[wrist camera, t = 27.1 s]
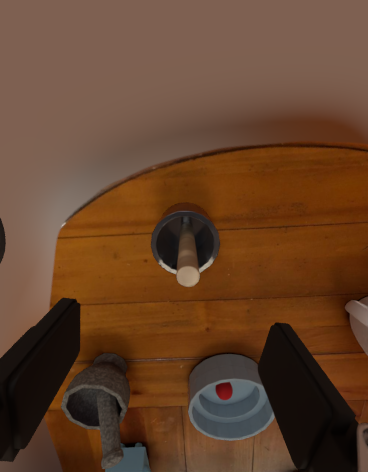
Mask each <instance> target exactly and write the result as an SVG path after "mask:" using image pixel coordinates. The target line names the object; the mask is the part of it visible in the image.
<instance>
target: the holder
mask: <svg viewBox="0 0 368 472" xmlns="http://www.w3.org/2000/svg"><path fill="white" fill-rule="evenodd" d="M184 223H190V224H191V225H192V226H193V231H194V238H195V245H196V252H197V259H198V265H199V272H202V271H204V270H205V269H207V268H208V267H209V266H210V265H211V264H212V263H213V262H214V260H215V258H216V257H217V255H218V251H219V247H220V241H219V234H218V231H217V230H216V228H215V226H214V224H213V223H212V221H211V219H210V217H209V216H208V214H207V212H206V211H205V210H203V209H202V208H201V207H200V206H198V205H196V204H193V203H187V202H184V203H178V204H175V205H173V206H171V207H170V208H168V209H167V210H166V211H165V212H164V213H163V215H162V217H161V218H160V220H159V222H158V224H157V225H156V227H155V229H154V231H153V233H152V239H151V248H152V252H153V256H154V258H155V259H156V260H157V262H158V263H159V265H160V266H161V267H163V268H164V269H166V270H167V271H168V272H170V273H173V274H176V272H177V261H178V250H179V239H180V228H181V226H182V224H184Z"/></svg>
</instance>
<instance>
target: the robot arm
mask: <svg viewBox="0 0 368 472" xmlns="http://www.w3.org/2000/svg"><path fill="white" fill-rule="evenodd" d="M79 351H80V303H77V300H76V299H70V298H62V299H61V300H60V301H59V302H58V303H57V304H56V305H55V306H54V307H53V308H52V309H51V310H50V311H49V312H48V313H47V314H46V315H45V316H44V317H43V318H42V319H41V320H40V321H39V322H38V323H37V325H36V326H33V327H31V328H30V329H29V330H28V331H27V332H26V333H25V334H24V335H23V336H22V337H21V338H20V339H19V340H18V341H17V342H16V343H15V344H14V345H13V346H12V347H11V348H10V349H9V350H8V351H7V352H6V353H5V354H4V355H3V357H1V358H0V461H9V462H13V461H14V459H15V457H16V455H17V454H18V452H19V450H20V449H24V448H25V447H26V446H27V445H28V443H29V442H30V440H31V438H32V436H33V435H34V433H35V431H36V429H37V427H38V426H39V424H40V422H41V420H42V419H43V417H44V415H45V413H46V412H47V410H48V408H49V406H50V404H51V403H52V401H53V399H54V397H55V396H56V394H57V392H58V390H59V388H60V387H61V385H62V383H63V381H64V380H65V378H66V376H67V374H68V373H69V371H70V369H71V367H72V365H73V364H74V362H75V360H76V358H77V357H78V354H79ZM258 374H259V377H260V379H261V382H262V384H263V387H264V390H265V392H266V395H267V397H268V400H269V402H270V405H271V407H272V410H273V412H274V415H275V418H276V420H277V423H278V425H279V428H280V430H281V433H282V435H283V438H284V441H285V443H286V446H287V448H288V451H289V453H290V456H291V458H292V461H293V463H294V465H295V466H296V468H298V469H299V470H300V472H368V423H361V424H358V422H357V421H356V420H355V416H356V415H355V414H354V412H353V411H352V410H351V408H350V407H349V406H348V404H347V403H346V401H345V400H344V399H343V397H342V396H341V395H340V393H339V392H338V390H337V389H336V388H335V386H334V385H333V384H332V382H331V381H330V379H329V378H328V377H327V375H326V374H325V373H324V371H323V370H322V369H321V367H320V366H319V364H318V363H317V362H316V360H315V359H314V358H313V356H312V355H311V353H310V352H309V351H308V349H307V348H306V347H305V345H304V344H303V342H302V341H301V340H300V338H299V337H298V336H297V334H296V333H295V331H294V330H293V329H292V327H291V326H290V325H289V324H286V323H275V324H274V325H272V326H271V328H270V331H269V334H268V337H267V340H266V343H265V346H264V349H263V352H262V355H261V358H260V361H259V364H258Z"/></svg>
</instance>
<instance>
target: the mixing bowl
mask: <svg viewBox="0 0 368 472" xmlns="http://www.w3.org/2000/svg"><path fill="white" fill-rule="evenodd" d="M225 382H230V383H231V385H232V388H233V393H232V396H231V398H230V399H228V400H222V399H220V398H219V397H218V396H217V394H216V390H215V387H216V385H217V384H220V383H225ZM188 413H189V417H190V421H191V422H192V424H193V425H194V427H195V428H196V429H197V430H198V431H200V432H201V433H203V434H204V435H206V436H209V437H212V438H215V439H219V440H228V441H231V440H241V439H245V438H248V437H251V436H254V435H256V434H258V433H260V432H261V431H263V430H264V429H266V428H267V427H268V425H269V424H270V423H271V422H272V421H273V419H274V416H275V415H274V412H273V410H272V407H271V405H270V402H269V400H268V397H267V395H266V392H265V390H264V387H263V384H262V382H261V379H260V377H259V374H258V364H257V363H256V362H254V361H253V360H252V359H249V358H247V357H245V356H242V355H235V354H223V355H216V356H213V357H211V358H208V359H206V360H204V361H203V362H201V363H200V364H199V365H197V366H196V367H195V368H194V370H193V371H192V373H191V374H190V377H189V381H188Z"/></svg>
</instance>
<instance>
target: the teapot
mask: <svg viewBox="0 0 368 472" xmlns="http://www.w3.org/2000/svg"><path fill="white" fill-rule="evenodd" d="M121 449H122V450H123V454H124V456H123V458H122V460H121V461H120V462H119V463H118V464H117V465H115V466H113V467H111V468H109V469H106V470H105V472H151V470H150V468H149V462H148V458H147V453H146V448H145V447H142V444H141V443H136V444H135V447H129V448H125V445H124V444H121Z"/></svg>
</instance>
